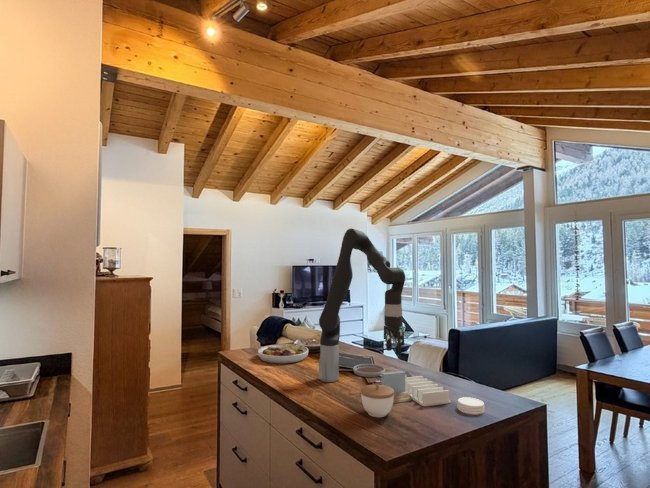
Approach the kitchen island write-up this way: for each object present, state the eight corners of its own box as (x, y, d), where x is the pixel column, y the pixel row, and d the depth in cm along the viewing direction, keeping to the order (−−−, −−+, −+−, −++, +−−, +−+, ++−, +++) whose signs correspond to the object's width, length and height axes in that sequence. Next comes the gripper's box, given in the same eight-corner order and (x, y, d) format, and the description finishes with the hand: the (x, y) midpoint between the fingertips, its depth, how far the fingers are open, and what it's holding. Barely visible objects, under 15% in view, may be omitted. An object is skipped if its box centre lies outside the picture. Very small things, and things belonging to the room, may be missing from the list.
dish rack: (422, 406, 156) (422, 393, 156) (397, 389, 176) (397, 377, 177) (450, 403, 160) (450, 390, 160) (422, 386, 180) (422, 375, 180)
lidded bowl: (372, 404, 157) (372, 377, 158) (400, 412, 149) (400, 383, 150) (354, 414, 148) (354, 385, 148) (383, 423, 140) (383, 392, 140)
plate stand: (384, 404, 158) (384, 396, 158) (376, 397, 166) (376, 390, 166) (411, 400, 162) (410, 393, 162) (401, 394, 169) (401, 387, 170)
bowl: (254, 354, 241) (254, 341, 241) (301, 350, 250) (301, 338, 250) (261, 367, 212) (261, 352, 212) (314, 362, 221) (314, 348, 221)
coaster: (460, 403, 160) (460, 395, 160) (486, 408, 155) (486, 399, 155) (455, 412, 151) (454, 402, 151) (482, 417, 146) (482, 407, 146)
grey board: (383, 398, 162) (383, 374, 162) (381, 397, 163) (381, 373, 164) (405, 396, 164) (405, 372, 165) (403, 394, 166) (402, 371, 167)
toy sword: (382, 381, 181) (346, 366, 204) (382, 387, 181) (346, 371, 204) (408, 375, 191) (370, 361, 214) (408, 381, 191) (370, 366, 214)
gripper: (378, 312, 171) (378, 349, 170) (393, 317, 157) (393, 357, 157) (393, 311, 173) (393, 348, 173) (409, 316, 160) (410, 356, 159)
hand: (393, 352), depth 165 cm, fingers open, 8 cm apart
